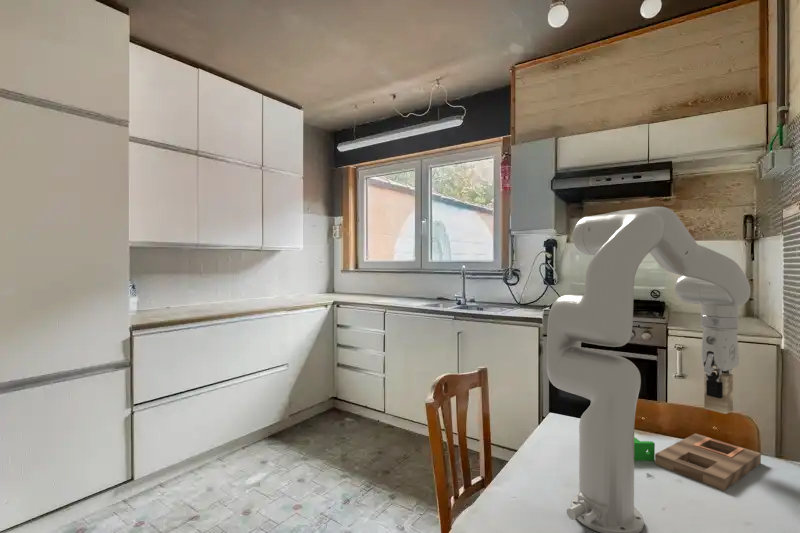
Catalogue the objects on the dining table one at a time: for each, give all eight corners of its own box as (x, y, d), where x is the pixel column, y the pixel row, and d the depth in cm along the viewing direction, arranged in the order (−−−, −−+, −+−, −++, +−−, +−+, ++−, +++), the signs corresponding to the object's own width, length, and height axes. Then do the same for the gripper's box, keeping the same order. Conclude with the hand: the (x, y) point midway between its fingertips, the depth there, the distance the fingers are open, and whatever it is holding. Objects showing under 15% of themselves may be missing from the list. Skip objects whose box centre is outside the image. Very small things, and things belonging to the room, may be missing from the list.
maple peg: (725, 414, 101) (725, 377, 101) (704, 408, 104) (704, 373, 104) (733, 410, 103) (733, 374, 103) (711, 405, 107) (711, 370, 107)
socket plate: (724, 490, 89) (724, 478, 89) (655, 464, 100) (655, 453, 100) (760, 463, 101) (760, 452, 101) (695, 442, 112) (695, 432, 112)
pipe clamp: (645, 454, 106) (646, 436, 106) (654, 461, 102) (654, 443, 102) (602, 453, 106) (602, 436, 106) (609, 460, 102) (609, 442, 102)
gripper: (723, 327, 96) (723, 405, 96) (750, 321, 105) (749, 392, 105) (686, 323, 102) (686, 397, 102) (715, 318, 111) (715, 385, 112)
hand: (718, 394), depth 104 cm, fingers closed on maple peg, 4 cm apart
